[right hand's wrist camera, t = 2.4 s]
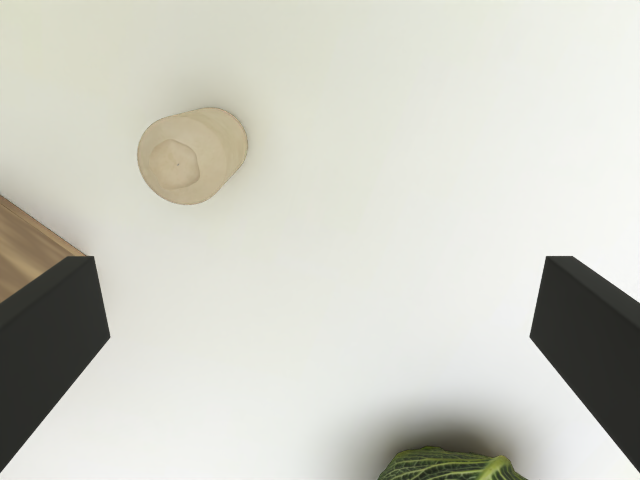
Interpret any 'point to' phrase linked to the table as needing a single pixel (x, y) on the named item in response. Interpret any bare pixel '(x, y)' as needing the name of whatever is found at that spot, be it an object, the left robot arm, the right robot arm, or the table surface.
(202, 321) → the table surface
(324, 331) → the table surface
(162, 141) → the candle
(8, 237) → the cabinet
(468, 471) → the vegetable
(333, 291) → the table surface
